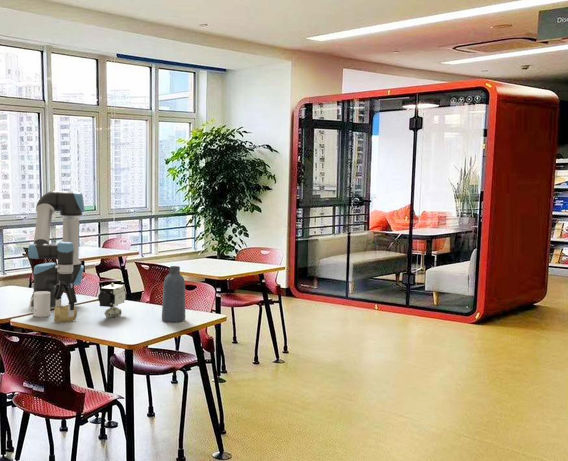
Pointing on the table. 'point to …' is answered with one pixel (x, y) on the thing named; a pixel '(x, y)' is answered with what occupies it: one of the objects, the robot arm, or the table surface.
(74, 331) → the table surface
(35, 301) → the mug
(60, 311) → the tan block
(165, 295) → the gray bottle
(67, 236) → the robot arm
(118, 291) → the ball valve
